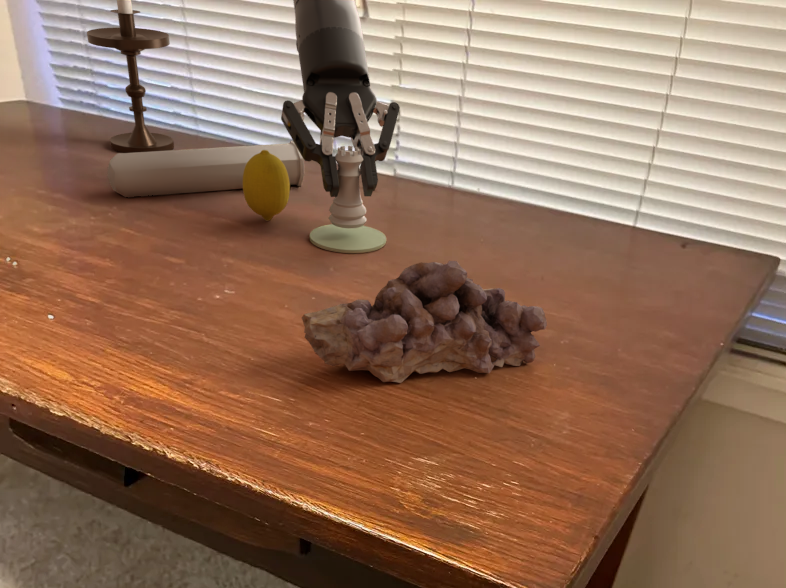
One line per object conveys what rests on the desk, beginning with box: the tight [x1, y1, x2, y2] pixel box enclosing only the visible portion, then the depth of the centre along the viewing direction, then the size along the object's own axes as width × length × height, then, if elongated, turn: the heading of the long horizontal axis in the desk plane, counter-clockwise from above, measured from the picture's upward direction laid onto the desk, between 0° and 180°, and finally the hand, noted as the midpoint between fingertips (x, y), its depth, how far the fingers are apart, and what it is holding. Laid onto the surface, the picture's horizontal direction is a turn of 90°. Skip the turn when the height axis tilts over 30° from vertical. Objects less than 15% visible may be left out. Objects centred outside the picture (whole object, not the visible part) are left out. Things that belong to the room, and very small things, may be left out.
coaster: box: [309, 223, 387, 254], centre depth 95 cm, size 9×9×1 cm
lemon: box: [242, 150, 291, 222], centre depth 96 cm, size 6×6×8 cm
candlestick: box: [86, 0, 175, 153], centre depth 110 cm, size 11×11×35 cm
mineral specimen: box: [301, 260, 548, 384], centre depth 69 cm, size 20×10×10 cm
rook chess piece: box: [328, 145, 368, 228], centre depth 92 cm, size 4×4×8 cm
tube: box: [106, 140, 305, 198], centre depth 106 cm, size 5×5×25 cm
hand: (352, 192), depth 91 cm, fingers closed on rook chess piece, 3 cm apart
